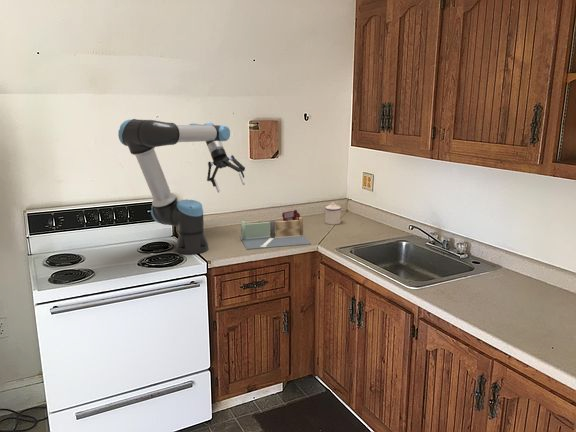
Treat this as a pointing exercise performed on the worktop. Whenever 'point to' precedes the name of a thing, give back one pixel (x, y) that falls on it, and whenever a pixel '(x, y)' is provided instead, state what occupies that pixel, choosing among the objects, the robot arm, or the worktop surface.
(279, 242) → the card
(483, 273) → the worktop surface
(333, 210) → the teacup with lid
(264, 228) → the hinged fence panel
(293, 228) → the fixed fence panel
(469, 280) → the worktop surface
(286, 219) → the toy fire truck
